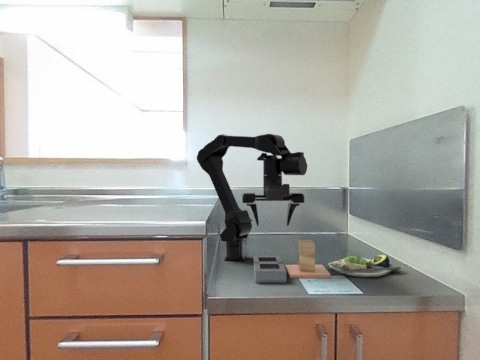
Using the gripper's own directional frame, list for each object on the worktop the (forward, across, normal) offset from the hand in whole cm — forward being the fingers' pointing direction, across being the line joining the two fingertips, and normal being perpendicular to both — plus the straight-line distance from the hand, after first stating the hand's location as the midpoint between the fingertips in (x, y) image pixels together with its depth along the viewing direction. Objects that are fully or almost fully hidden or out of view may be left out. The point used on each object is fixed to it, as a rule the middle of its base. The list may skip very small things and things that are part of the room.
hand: (272, 225), depth 115 cm
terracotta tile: (+12, +9, -9) cm, 17 cm away
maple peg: (+11, +9, -9) cm, 17 cm away
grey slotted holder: (+12, -2, -10) cm, 16 cm away
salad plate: (+12, +26, -6) cm, 29 cm away
